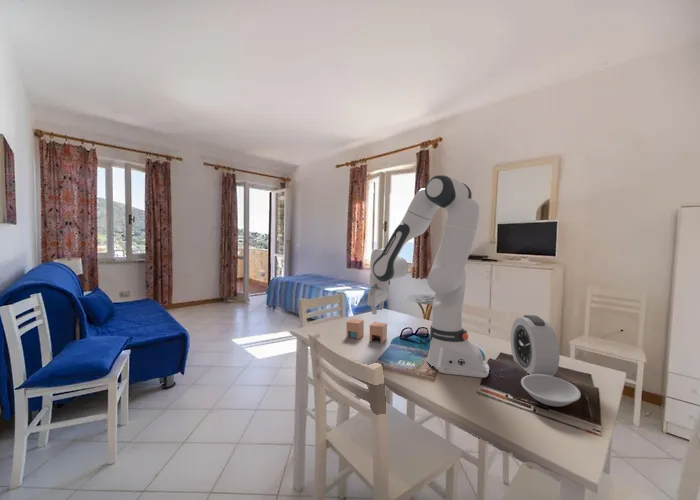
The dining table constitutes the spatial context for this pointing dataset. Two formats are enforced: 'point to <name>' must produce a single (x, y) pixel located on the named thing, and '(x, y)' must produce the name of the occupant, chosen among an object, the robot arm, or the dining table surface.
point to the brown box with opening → (378, 331)
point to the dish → (550, 389)
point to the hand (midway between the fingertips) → (377, 311)
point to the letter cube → (353, 334)
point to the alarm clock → (535, 345)
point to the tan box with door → (355, 327)
